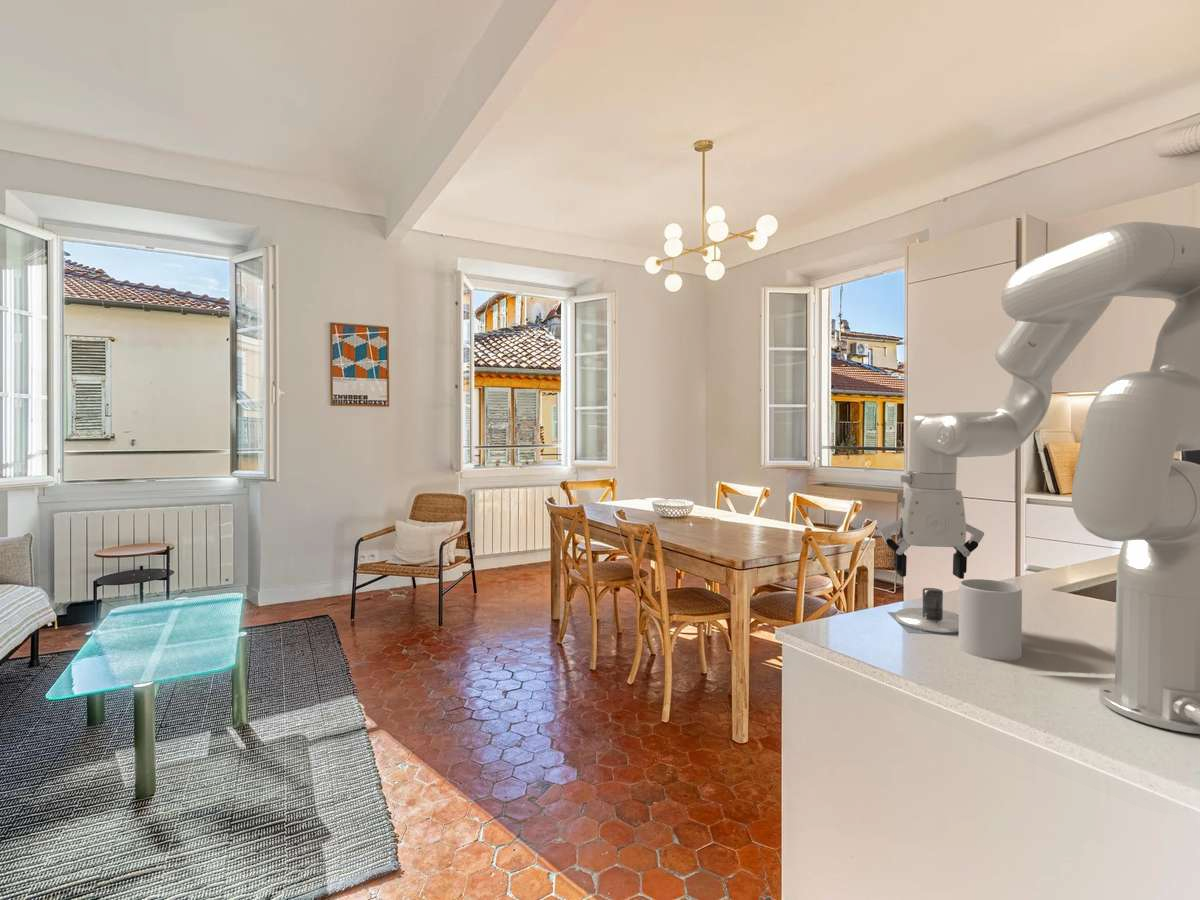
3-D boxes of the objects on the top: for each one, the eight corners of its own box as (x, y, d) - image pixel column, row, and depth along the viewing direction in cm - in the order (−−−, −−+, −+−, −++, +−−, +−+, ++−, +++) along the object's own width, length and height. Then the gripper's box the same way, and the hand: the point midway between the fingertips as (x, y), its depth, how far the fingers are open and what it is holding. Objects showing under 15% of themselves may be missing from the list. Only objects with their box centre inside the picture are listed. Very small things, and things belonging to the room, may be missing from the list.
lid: (983, 635, 105) (983, 600, 105) (908, 632, 107) (908, 598, 107) (954, 614, 117) (955, 582, 117) (887, 612, 119) (887, 581, 118)
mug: (1009, 668, 92) (1009, 595, 92) (948, 652, 99) (949, 584, 99) (1038, 650, 99) (1039, 582, 99) (980, 636, 106) (980, 573, 106)
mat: (983, 638, 105) (983, 635, 105) (908, 636, 107) (908, 632, 107) (954, 617, 117) (954, 614, 117) (887, 615, 119) (887, 612, 119)
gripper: (887, 483, 109) (885, 579, 110) (994, 485, 106) (990, 583, 107) (875, 479, 116) (873, 569, 117) (975, 480, 113) (972, 572, 115)
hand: (929, 575), depth 112 cm, fingers open, 9 cm apart
